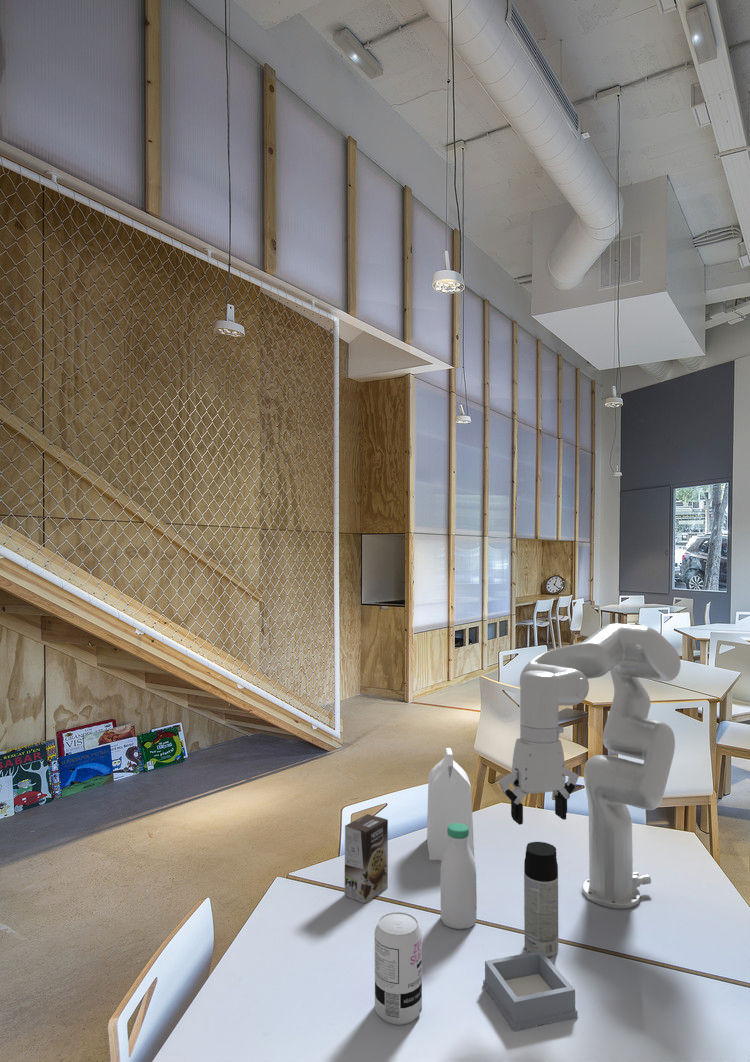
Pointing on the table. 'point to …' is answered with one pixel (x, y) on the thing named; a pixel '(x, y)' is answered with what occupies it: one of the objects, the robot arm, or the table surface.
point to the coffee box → (366, 857)
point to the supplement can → (398, 968)
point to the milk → (447, 804)
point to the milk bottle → (458, 880)
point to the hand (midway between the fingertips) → (539, 819)
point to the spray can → (541, 898)
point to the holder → (529, 990)
